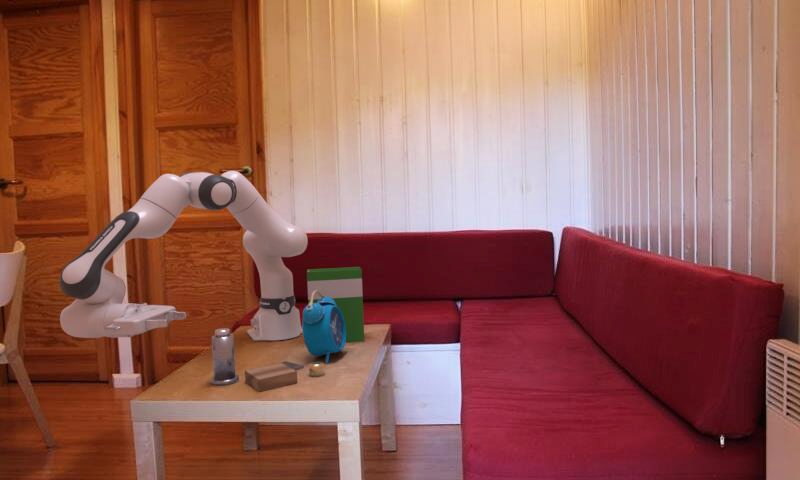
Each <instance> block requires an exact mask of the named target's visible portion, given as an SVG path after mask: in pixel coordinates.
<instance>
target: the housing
mask: <svg viewBox="0 0 800 480" xmlns="http://www.w3.org/2000/svg"><path fill="white" fill-rule="evenodd" d="M234 340H235V339H234V334H233V333H231V332H230V328H228V327H227V328H226V327H224V328H218V329H215V330H214V335H212V336H211V350H212V351H211V352H212V368H213V369H212V370H213V377H211V378H210V384H211V385H212V386H215V387H221V386H222V387H224V386H229V385H230V386H231V385H233V384H236V383H238V382H239V381H240V375H239V374H237V373H236V359H235V341H234Z"/></svg>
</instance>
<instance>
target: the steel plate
mask: <svg viewBox="0 0 800 480" xmlns="http://www.w3.org/2000/svg"><path fill="white" fill-rule="evenodd" d="M281 363H282V364H284V365H286V366H288V367H290V368H292V369H294V370H295V371H299V370H303V369H304V367H305V366H304V365H303V364H298V363H294V362H290V361H282V362H281Z"/></svg>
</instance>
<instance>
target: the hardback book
mask: <svg viewBox="0 0 800 480" xmlns="http://www.w3.org/2000/svg"><path fill="white" fill-rule="evenodd" d="M306 270H307V271H306V281H307V282H306V283H307V305H309V303H310V300H311V295H312V293H313V291H315V290H317V291H319V292H320V293H321V294H322V295H323V296H327V297H329V298H331V299H333V300H334V301H335V303H336V306H337V307H338V308H339V309H340V311H341V313H342V315H343V318H344V322H345V328H346V342H345V344H349V343H350V344H351V343H364V342H365V321H364V319H365V318H364V301H363V300H364V299H363V298H364V297H363V276H362V274H363V270H362V268H361V267H360V266H352V267H350V266H349V267H335V268H334V267H333V268H330V267H329V268H314V269H306ZM321 298H323V297H321V296H320V295H319V294H318V293H317V292H315V294H314V297H313V303H317V302H318V300H319V299H321Z"/></svg>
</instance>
